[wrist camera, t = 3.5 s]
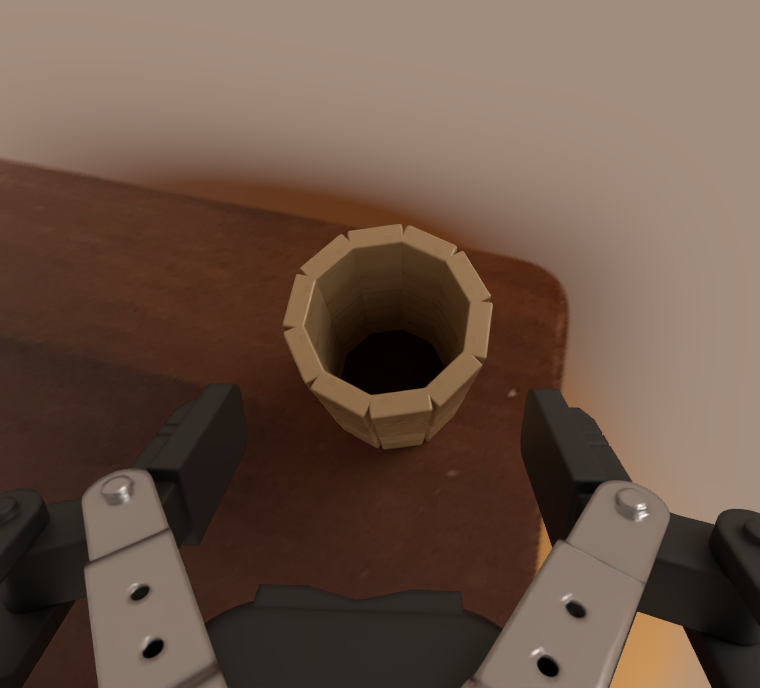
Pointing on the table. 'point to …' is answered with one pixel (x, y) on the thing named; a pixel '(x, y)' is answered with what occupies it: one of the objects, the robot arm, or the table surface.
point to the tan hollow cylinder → (388, 327)
